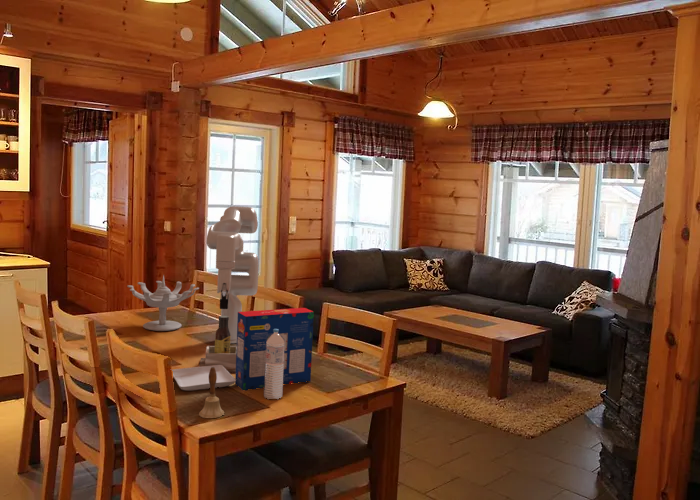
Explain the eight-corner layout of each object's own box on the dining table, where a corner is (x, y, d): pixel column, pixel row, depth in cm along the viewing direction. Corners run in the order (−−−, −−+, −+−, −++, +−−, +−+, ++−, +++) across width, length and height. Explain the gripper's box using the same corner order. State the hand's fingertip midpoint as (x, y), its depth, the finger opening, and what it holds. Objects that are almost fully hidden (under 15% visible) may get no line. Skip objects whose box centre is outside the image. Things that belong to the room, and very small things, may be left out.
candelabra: (211, 329, 324) (213, 276, 321) (149, 339, 298) (150, 282, 295) (173, 317, 346) (174, 267, 343) (112, 325, 320) (113, 272, 317)
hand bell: (222, 419, 207) (224, 371, 205) (197, 418, 206) (198, 370, 204) (225, 410, 215) (227, 364, 213) (201, 409, 214) (202, 363, 213)
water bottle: (264, 393, 233) (266, 326, 230) (282, 394, 234) (285, 327, 231) (263, 400, 226) (265, 331, 224) (282, 400, 227) (285, 332, 224)
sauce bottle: (225, 366, 260) (227, 318, 257) (211, 365, 261) (213, 317, 259) (232, 362, 266) (233, 315, 264) (217, 360, 267) (219, 314, 265)
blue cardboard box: (301, 375, 257) (304, 307, 253) (310, 381, 250) (313, 311, 247) (235, 384, 242) (237, 311, 239) (243, 390, 235) (245, 316, 232)
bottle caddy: (200, 360, 270) (201, 344, 269) (243, 360, 273) (244, 344, 273) (198, 373, 252) (198, 356, 252) (244, 373, 256) (244, 356, 255)
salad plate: (179, 395, 228) (180, 386, 228) (167, 377, 247) (167, 368, 246) (237, 389, 238) (237, 380, 237) (221, 372, 256) (221, 364, 256)
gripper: (216, 261, 266) (215, 301, 268) (215, 267, 249) (213, 310, 251) (234, 261, 267) (233, 301, 270) (234, 268, 251) (233, 311, 253)
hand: (224, 306), depth 260 cm, fingers open, 9 cm apart
